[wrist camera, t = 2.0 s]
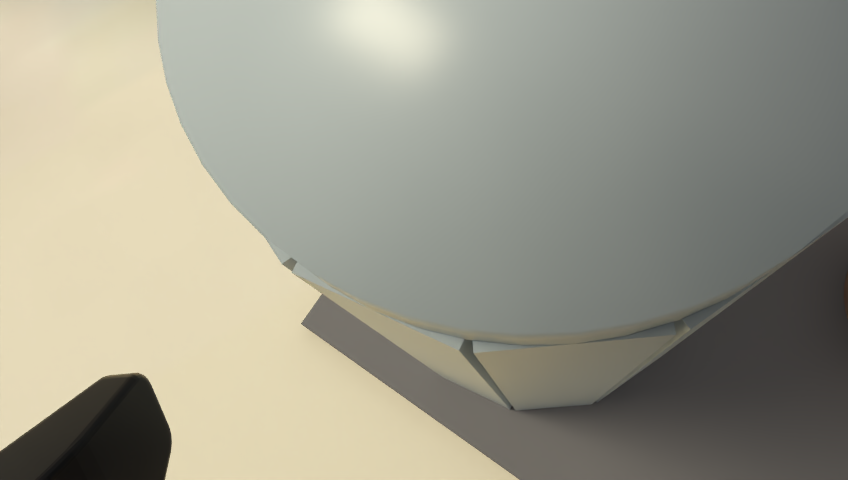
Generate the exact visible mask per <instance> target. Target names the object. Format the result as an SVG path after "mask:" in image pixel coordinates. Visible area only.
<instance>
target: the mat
mask: <svg viewBox="0 0 848 480" xmlns="http://www.w3.org/2000/svg"><path fill="white" fill-rule="evenodd" d="M847 271H848V218H846V219H845V220H844V221H842V222H841V223H840V224H838V225H837V226H836V227H834V228H833V229H831V230H830V231H829V232H827V233H826V234H825V235H823V236H822V237H821V238H819V239H818V240H817V241H815V242H814V243H813V244H811V245H810V246H809V247H807V248H806V249H805V250H803V251H802V252H801V253H799V254H798V255H797V256H795V257H794V258H793V259H791V260H790V261H789V262H787V263H786V264H785V265H783V266H782V267H781V268H779V269H778V270H777V271H775V272H774V273H773V274H771V275H770V276H769V277H767V278H766V279H764V280H763V281H762V282H760V283H759V284H758V285H756V286H755V287H754V288H752V289H751V290H750V291H748V292H747V293H746V294H744V295H743V296H742V297H740V298H739V299H738V300H736V301H735V302H734V303H732V304H731V305H730V306H728V307H727V308H726V309H724V310H723V311H722V312H720V313H719V314H718V315H716V316H715V317H714V318H712V319H711V320H710V321H708V322H707V323H706V324H704V325H703V326H701V327H700V328H699V329H697V330H696V331H695V332H693V333H692V334H691V335H689V336H688V337H687V338H685V339H684V340H683V341H681V342H680V343H679V344H677V345H676V346H675V347H673V348H672V349H671V350H669V351H668V352H667V353H665V354H664V355H663V356H661V357H660V358H659V359H657V360H656V361H654V362H653V363H652V364H650V365H649V366H647V367H646V368H645V369H643V370H642V371H640V372H639V373H638V374H636V375H635V376H633V377H632V378H631V379H629V380H628V381H626V382H625V383H624V384H622V385H621V386H619V387H618V388H617V389H615V390H614V391H612V392H611V393H610V394H608V395H607V396H605V397H604V398H603V399H601V400H600V401H598V402H596V401H595V402H594V403H593V404H591V405H579V406H566V407H554V408H542V409H530V410H517V411H516V410H515V409H514V408H513V406H511V409H508V408H506V407H504V406H502V405H499V404H497V403H495V402H493V401H491V400H489V399H487V398H485V397H483V396H481V395H479V394H476V393H474V392H472V391H470V390H468V389H466V388H464V387H462V386H460V385H458V384H456V383H453V382H451V381H449V380H447V379H445V378H443V377H442V376H440V375H439V374H437V373H436V372H434V371H433V370H431V369H430V368H429V367H427V366H426V365H424V364H423V363H421V362H420V361H419V360H417V359H416V358H414V357H413V356H411V355H410V354H408V353H407V352H406V351H404V350H403V349H401V348H400V347H398V346H397V345H395V344H394V343H393V342H391V341H390V340H388V339H387V338H385V337H384V336H382V335H381V334H380V333H378V332H377V331H375V330H374V329H372V328H371V327H369V326H368V325H367V324H365V323H364V322H362V321H361V320H359V319H358V318H356V317H355V316H354V315H352V314H351V313H349V312H348V311H346V310H345V309H344V308H342V307H341V306H339V305H338V304H336V303H335V302H333V301H332V300H331V299H329V298H328V297H326V296H325V295H323V294H322V295H321V296H320V298H319V299H318V301H317V302H316V303H315V305H314V306H313V308H312V309H311V310H310V312H309V313H308V315H307V316H306V318H305V319H304V320H303V322H302V323H301V324H302V325H303V326H305V327H306V328H307V329H309V330H310V331H312V332H313V333H315V334H316V335H317V336H319V337H320V338H322V339H323V340H324V341H326V342H327V343H329V344H330V345H331V346H333V347H334V348H336V349H337V350H338V351H340V352H341V353H343V354H344V355H345V356H347V357H348V358H350V359H351V360H352V361H354V362H355V363H357V364H358V365H359V366H361V367H362V368H364V369H365V370H366V371H368V372H369V373H371V374H372V375H373V376H375V377H376V378H378V379H379V380H381V381H382V382H383V383H385V384H386V385H388V386H389V387H390V388H392V389H393V390H395V391H396V392H397V393H399V394H400V395H402V396H403V397H404V398H406V399H407V400H409V401H410V402H411V403H413V404H414V405H416V406H417V407H418V408H420V409H421V410H423V411H424V412H425V413H427V414H428V415H430V416H431V417H432V418H434V419H435V420H437V421H438V422H440V423H441V424H442V425H444V426H445V427H447V428H448V429H449V430H451V431H452V432H454V433H455V434H456V435H458V436H459V437H461V438H462V439H463V440H465V441H466V442H468V443H469V444H470V445H472V446H473V447H475V448H476V449H477V450H479V451H480V452H482V453H483V454H484V455H486V456H487V457H489V458H490V459H491V460H493V461H494V462H496V463H497V464H498V465H500V466H501V467H503V468H504V469H506V470H507V471H508V472H510V473H511V474H513V475H514V476H515V477H517V478H518V479H520V480H848V318H847V315H846V311H845V304H844V285H845V279H846V275H847Z"/></svg>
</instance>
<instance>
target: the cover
mask: <svg viewBox="0 0 848 480" xmlns="http://www.w3.org/2000/svg"><path fill="white" fill-rule="evenodd" d="M156 9H157V29H158V43H159V48H160V53H161V58H162V63H163V68H164V73H165V78H166V83H167V86H168V89H169V92H170V95H171V97H172V100H173V103H174V106H175V109H176V112H177V114H178V117H179V120H180V123H181V125H182V127H183V129H184V131H185V133H186V135H187V137H188V139H189V140H190V142H191V144H192V146H193V148H194V150H195V152H196V154H197V156H198V157H199V159H200V161H201V163H202V165H203V166H204V168H205V169H206V170H207V172H208V173H209V174H210V176H211V177H212V179H213V180H214V181H215V183H216V184H217V185H218V187H219V188H220V189H221V191H222V192H223V193H224V195H225V196H226V197H227V199H228V200H229V202H230V203H231V204H232V205H233V206H234V207H235V208H236V209H237V210H238V211H239V212H240V213H241V214H242V215H243V216H244V217H245V218H246V219H247V220H248V221H249V222H250V223H251V224H252V225H253V226H254V227H255V228H256V229H257V230H258V231H259V232H260V233H261V234H262V235H263V236H264V237H265V238H266V240H267V242H268V243H269V245H270V246H271V248H272V249H273V251H274V252H275V254H276V256H277V257H278V259H279V260H280V262H281V263H282V264H283V265H284V266H285V267H287V268H288V269H290V270H291V271H292V273H293V274H294V275H296V276H297V277H299V278H300V279H302V280H303V281H305V282H306V283H307V284H309V285H310V286H312V287H313V288H315V289H316V290H318V291H319V292H320V293H322V294H323V295H325V296H326V297H328V298H329V299H331V300H332V301H333V302H335V303H336V304H338V305H339V306H341V307H342V308H344V309H345V310H346V311H348V312H349V313H351V314H352V315H354V316H355V317H356V318H358V319H359V320H361V321H362V322H364V323H365V324H367V325H368V326H369V327H371V328H372V329H374V330H375V331H377V332H378V333H380V334H381V335H382V336H384V337H385V338H387V339H388V340H390V341H391V342H393V343H394V344H395V345H397V346H398V347H400V348H401V349H403V350H404V351H406V352H407V353H408V354H410V355H411V356H413V357H414V358H416V359H417V360H419V361H420V362H421V363H423V364H424V365H426V366H427V367H429V368H430V369H431V370H433V371H434V372H436V373H437V374H439V375H440V376H442V377H443V378H445V379H447V380H449V381H451V382H453V383H456V384H458V385H460V386H462V387H464V388H466V389H468V390H470V391H472V392H474V393H476V394H479V395H481V396H483V397H485V398H487V399H489V400H491V401H493V402H495V403H497V404H499V405H502V406H504V407H506V408H508V409H511V406H513V408H514V409H515V410H516V411H517V410H530V409H542V408H554V407H566V406H579V405H591V404H593V403H594V402H595V401H596V402H598V401H600V400H601V399H603V398H604V397H605V396H607V395H608V394H610V393H611V392H612V391H614V390H615V389H617V388H618V387H619V386H621V385H622V384H624V383H625V382H626V381H628V380H629V379H631V378H632V377H633V376H635V375H636V374H638V373H639V372H640V371H642V370H643V369H645V368H646V367H647V366H649V365H650V364H652V363H653V362H654V361H656V360H657V359H659V358H660V357H661V356H663V355H664V354H665V353H667V352H668V351H669V350H671V349H672V348H673V347H675V346H676V345H677V344H679V343H680V342H681V341H683V340H684V339H685V338H687V337H688V336H689V335H691V334H692V333H693V332H695V331H696V330H697V329H699V328H700V327H701V326H703V325H704V324H706V323H707V322H708V321H710V320H711V319H712V318H714V317H715V316H716V315H718V314H719V313H720V312H722V311H723V310H724V309H726V308H727V307H728V306H730V305H731V304H732V303H734V302H735V301H736V300H738V299H739V298H740V297H742V296H743V295H744V294H746V293H747V292H748V291H750V290H751V289H752V288H754V287H755V286H756V285H758V284H759V283H760V282H762V281H763V280H764V279H766V278H767V277H769V276H770V275H771V274H773V273H774V272H775V271H777V270H778V269H779V268H781V267H782V266H783V265H785V264H786V263H787V262H789V261H790V260H791V259H793V258H794V257H795V256H797V255H798V254H799V253H801V252H802V251H803V250H805V249H806V248H807V247H809V246H810V245H811V244H813V243H814V242H815V241H817V240H818V239H819V238H821V237H822V236H823V235H825V234H826V233H827V232H829V231H830V230H831V229H833V228H834V227H836V226H837V225H838V224H840V223H841V222H842V221H844V220H845V219H846V218H848V0H156Z"/></svg>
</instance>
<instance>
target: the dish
mask: <svg viewBox="0 0 848 480" xmlns="http://www.w3.org/2000/svg"><path fill="white" fill-rule="evenodd" d="M844 304H845V311H846V315H847V318H848V271H847V275H846V279H845V285H844Z"/></svg>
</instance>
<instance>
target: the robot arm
mask: <svg viewBox="0 0 848 480" xmlns="http://www.w3.org/2000/svg"><path fill="white" fill-rule="evenodd" d="M171 444H172V440H171V432H170V428H169V425H168V423H167V421H166V418H165V416H164V414H163V411H162V409H161V407H160V404H159V402H158V400H157V397H156V395H155V393H154V390H153V388H152V386H151V384H150V382H149V380H148V379H147V378H146V377H145V376H144V375H142V374H139V373H130V374H118V375H109V376H105V377H103V378H101V379H100V380H98V381H97V382H95V383H94V384H93V385H91V386H90V387H88V388H87V389H86V390H84V391H83V392H82V393H80V394H79V395H77V396H76V397H75V398H73V399H72V400H71V401H69V402H68V403H66V404H65V405H64V406H62V407H61V408H59V409H58V410H57V411H55V412H54V413H53V414H51V415H50V416H48V417H47V418H46V419H44V420H43V421H41V422H40V423H39V424H37V425H36V426H35V427H33V428H32V429H30V430H29V431H28V432H26V433H25V434H24V435H22V436H21V437H19V438H18V439H17V440H15V441H14V442H12V443H11V444H10V445H8V446H7V447H6V448H4V449H3V450H1V451H0V480H165V477H166V472H167V467H168V463H169V458H170V453H171Z"/></svg>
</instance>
